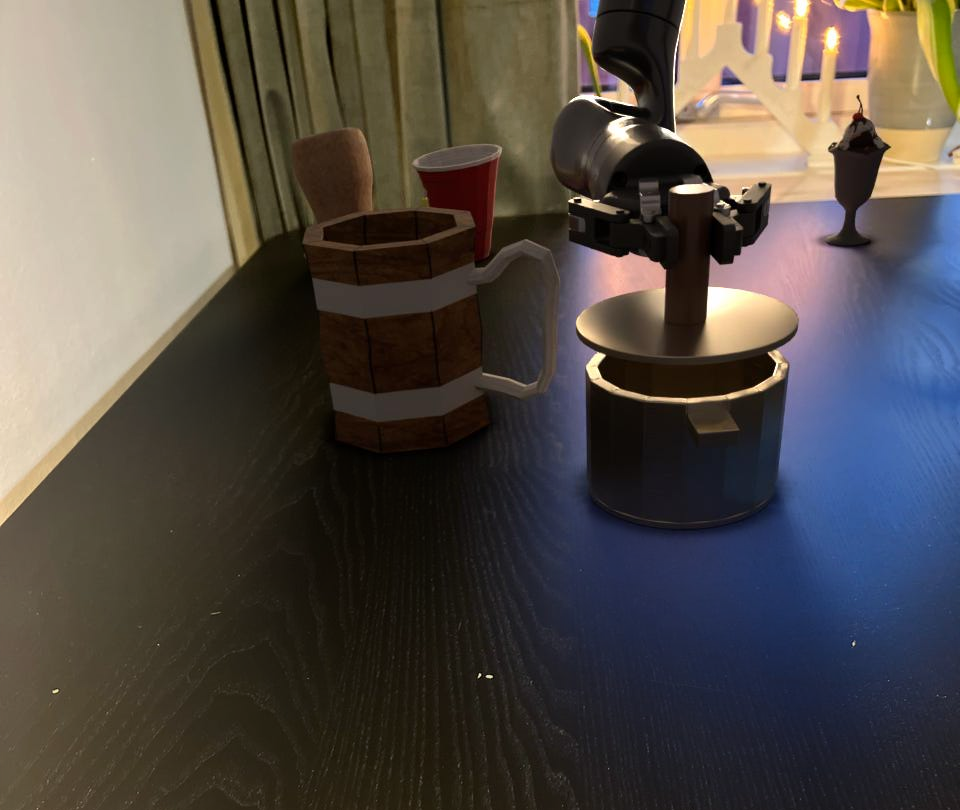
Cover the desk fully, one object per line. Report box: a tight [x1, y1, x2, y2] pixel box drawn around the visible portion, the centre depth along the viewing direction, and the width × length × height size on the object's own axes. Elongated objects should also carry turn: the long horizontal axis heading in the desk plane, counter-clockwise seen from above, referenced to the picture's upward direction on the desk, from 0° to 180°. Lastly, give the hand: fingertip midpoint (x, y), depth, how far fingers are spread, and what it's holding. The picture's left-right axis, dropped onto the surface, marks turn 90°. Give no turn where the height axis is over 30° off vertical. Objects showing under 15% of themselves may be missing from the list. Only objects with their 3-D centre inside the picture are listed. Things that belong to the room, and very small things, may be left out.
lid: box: [575, 184, 800, 365], centre depth 59 cm, size 14×14×9 cm
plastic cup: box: [411, 143, 503, 262], centre depth 119 cm, size 11×11×12 cm
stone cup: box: [289, 127, 374, 260], centre depth 123 cm, size 15×12×15 cm
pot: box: [584, 349, 790, 530], centre depth 65 cm, size 13×18×8 cm
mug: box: [301, 205, 561, 454], centre depth 76 cm, size 20×14×15 cm
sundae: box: [824, 94, 892, 247], centre depth 111 cm, size 7×7×15 cm
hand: (700, 248), depth 56 cm, fingers closed on lid, 2 cm apart
